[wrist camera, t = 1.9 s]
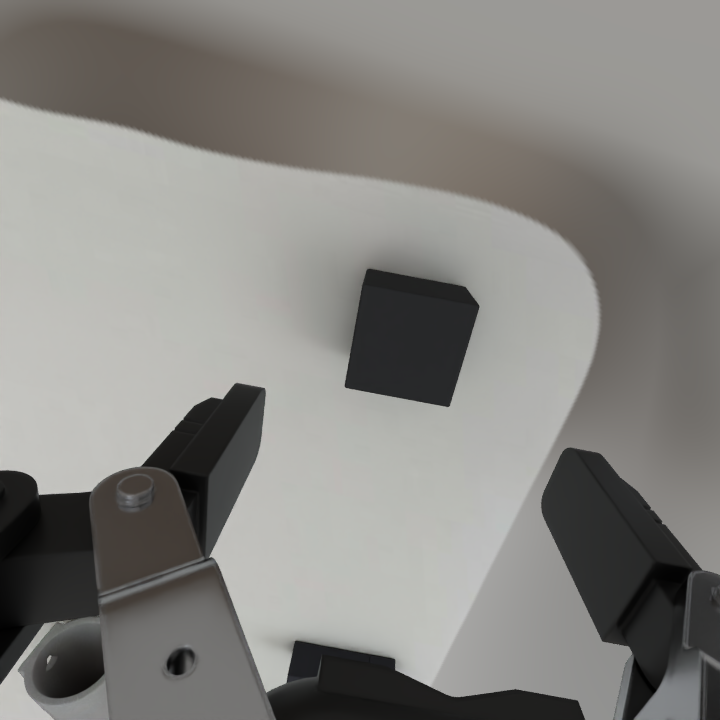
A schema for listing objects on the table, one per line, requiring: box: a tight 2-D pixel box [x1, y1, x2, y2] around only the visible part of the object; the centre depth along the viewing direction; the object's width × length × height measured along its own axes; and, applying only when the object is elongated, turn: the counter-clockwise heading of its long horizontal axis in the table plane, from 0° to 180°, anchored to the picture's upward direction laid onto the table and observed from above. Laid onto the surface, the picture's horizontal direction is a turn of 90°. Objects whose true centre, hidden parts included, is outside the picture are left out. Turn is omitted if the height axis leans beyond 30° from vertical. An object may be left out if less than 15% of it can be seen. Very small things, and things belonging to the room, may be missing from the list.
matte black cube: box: [345, 269, 479, 407], centre depth 20 cm, size 5×5×4 cm
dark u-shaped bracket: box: [287, 641, 395, 683], centre depth 33 cm, size 10×8×2 cm
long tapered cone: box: [18, 617, 109, 720], centre depth 35 cm, size 6×6×19 cm
